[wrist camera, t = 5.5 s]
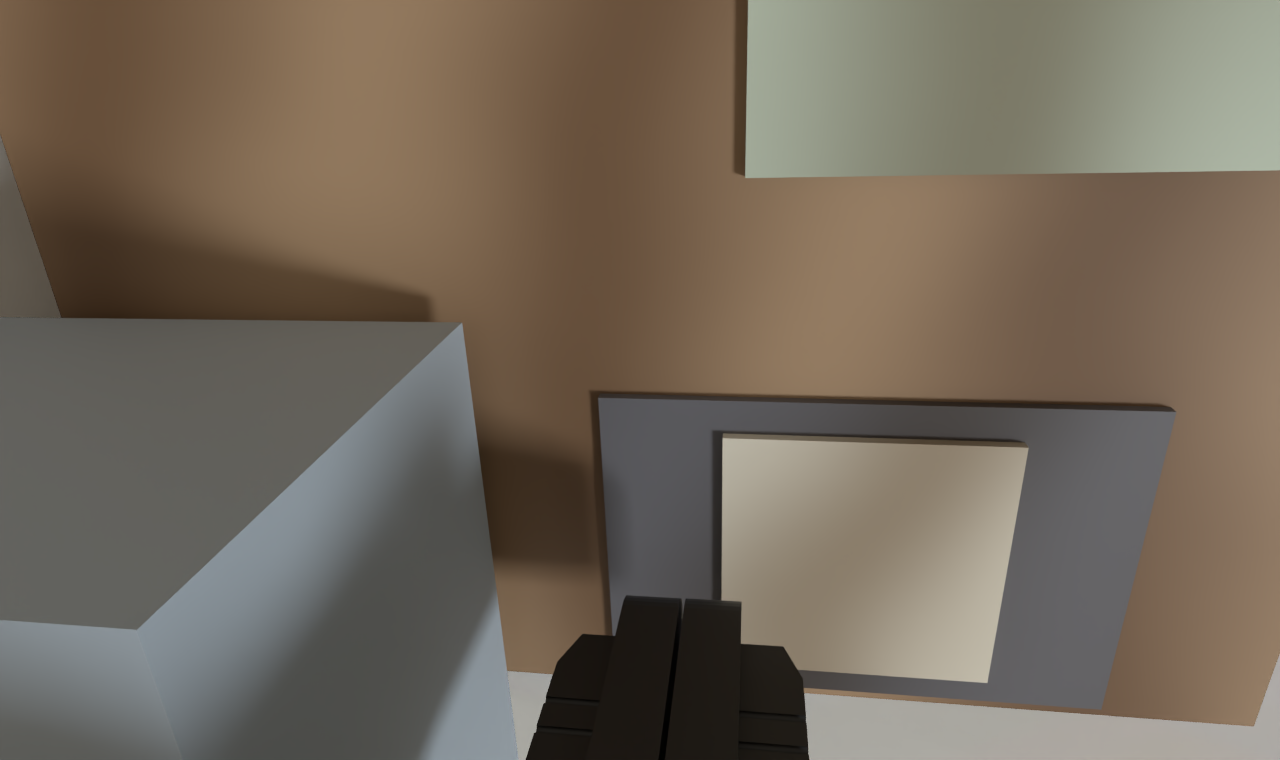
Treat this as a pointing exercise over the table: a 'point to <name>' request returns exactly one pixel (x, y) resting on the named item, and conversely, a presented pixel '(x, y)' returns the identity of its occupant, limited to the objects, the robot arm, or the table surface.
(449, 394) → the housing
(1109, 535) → the board
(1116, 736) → the table surface
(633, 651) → the robot arm
